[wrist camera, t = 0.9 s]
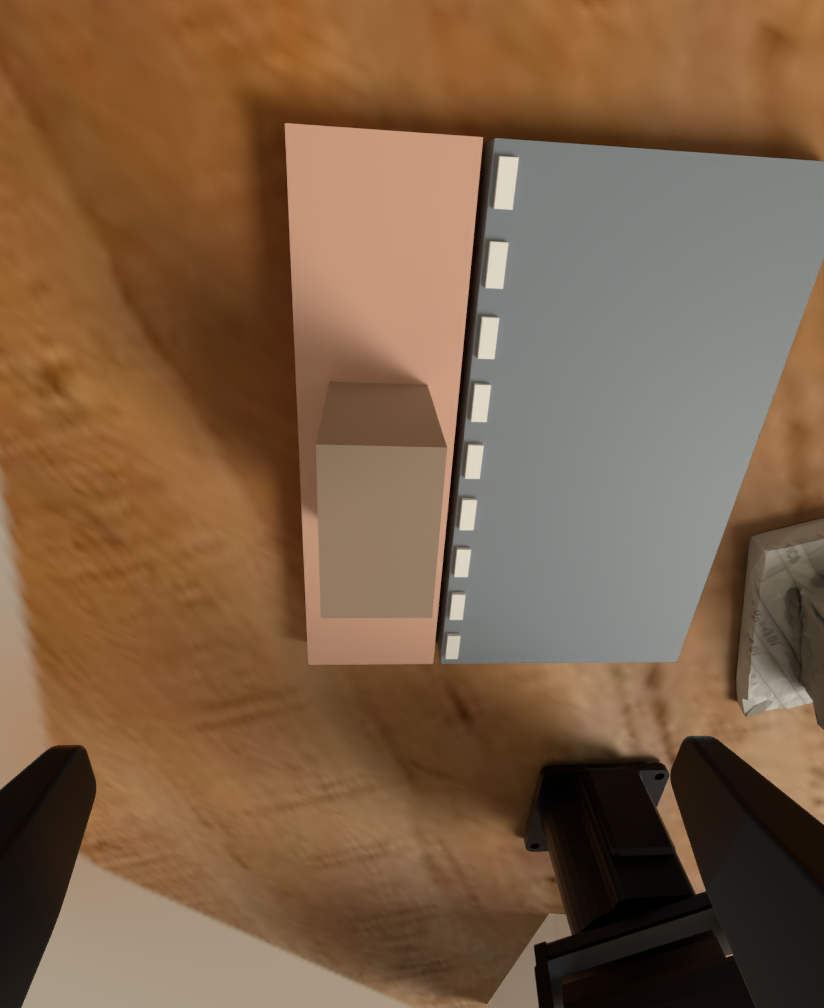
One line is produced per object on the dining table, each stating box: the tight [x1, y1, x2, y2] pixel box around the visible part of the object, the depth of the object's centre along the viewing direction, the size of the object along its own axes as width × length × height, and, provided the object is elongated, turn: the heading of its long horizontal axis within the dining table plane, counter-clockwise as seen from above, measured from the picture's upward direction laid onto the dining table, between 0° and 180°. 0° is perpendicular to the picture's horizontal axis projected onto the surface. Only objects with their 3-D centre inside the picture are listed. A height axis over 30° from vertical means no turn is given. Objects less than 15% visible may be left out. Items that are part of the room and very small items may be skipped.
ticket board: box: [437, 138, 824, 664], centre depth 20 cm, size 18×10×1 cm, turn 177°
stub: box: [285, 123, 483, 665], centre depth 17 cm, size 18×5×6 cm, turn 177°
